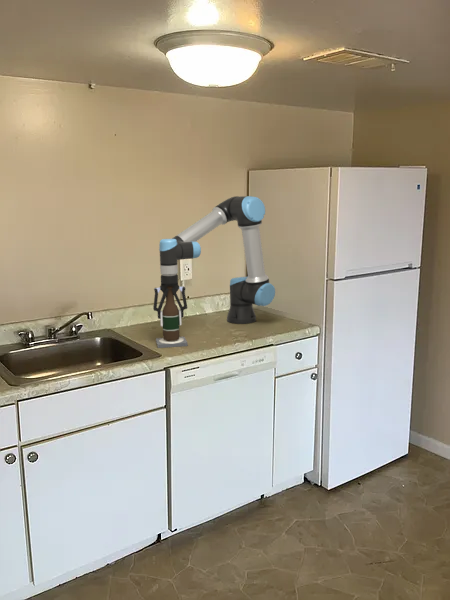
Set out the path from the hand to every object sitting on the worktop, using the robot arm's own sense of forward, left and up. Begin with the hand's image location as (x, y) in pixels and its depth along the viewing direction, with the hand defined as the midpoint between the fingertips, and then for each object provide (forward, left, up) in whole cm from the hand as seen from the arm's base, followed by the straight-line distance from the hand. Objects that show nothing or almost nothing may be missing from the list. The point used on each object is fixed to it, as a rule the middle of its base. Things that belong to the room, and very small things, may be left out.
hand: (171, 325), depth 247 cm
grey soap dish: (0, 0, -9) cm, 9 cm away
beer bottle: (0, 0, -6) cm, 6 cm away
